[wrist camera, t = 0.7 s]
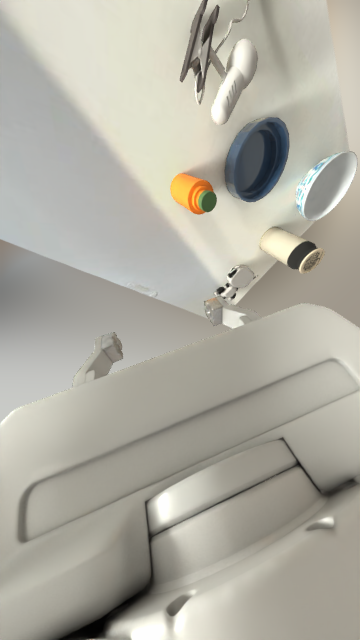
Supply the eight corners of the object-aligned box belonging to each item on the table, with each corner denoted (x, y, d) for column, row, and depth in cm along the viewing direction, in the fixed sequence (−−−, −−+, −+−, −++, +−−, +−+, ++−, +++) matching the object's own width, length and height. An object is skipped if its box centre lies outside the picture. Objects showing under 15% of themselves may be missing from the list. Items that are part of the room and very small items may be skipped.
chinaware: (337, 168, 51) (364, 170, 46) (298, 220, 59) (318, 228, 54) (315, 136, 43) (345, 135, 38) (274, 202, 51) (294, 209, 46)
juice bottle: (165, 186, 39) (189, 199, 30) (184, 166, 38) (215, 174, 29) (179, 208, 43) (203, 225, 34) (196, 191, 42) (226, 204, 33)
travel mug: (256, 252, 62) (295, 277, 51) (262, 229, 56) (307, 252, 45) (275, 246, 63) (317, 270, 52) (282, 223, 58) (331, 244, 46)
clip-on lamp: (229, -79, 24) (170, 80, 29) (265, -159, 19) (185, 50, 24) (271, 24, 30) (217, 139, 35) (306, -14, 25) (237, 126, 30)
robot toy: (228, 297, 75) (253, 268, 67) (233, 303, 72) (260, 275, 64) (209, 290, 68) (234, 257, 60) (213, 297, 65) (241, 264, 57)
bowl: (214, 154, 38) (225, 155, 36) (270, 99, 35) (286, 95, 32) (234, 210, 49) (243, 214, 46) (278, 171, 46) (291, 173, 43)
